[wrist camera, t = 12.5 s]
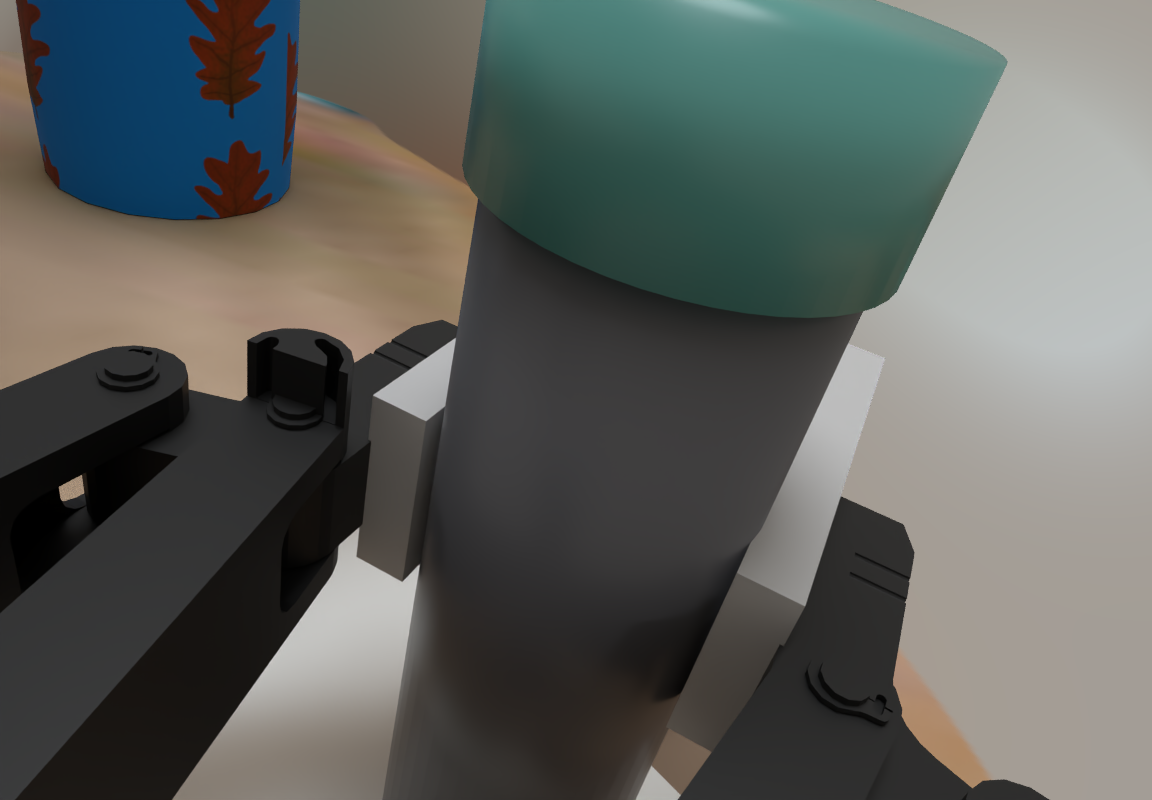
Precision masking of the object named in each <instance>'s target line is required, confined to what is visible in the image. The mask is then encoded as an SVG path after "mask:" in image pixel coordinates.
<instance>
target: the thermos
mask: <svg viewBox="0 0 1152 800" xmlns="http://www.w3.org/2000/svg"><path fill="white" fill-rule="evenodd" d="M16 4H17V12H18V19H19V26H20V33H21V40H22V47H23V55H24V62H25V69H26V76H27V83H28V88H29V93H30V98H31V103H32V107H33V112H34V117H35V122H36V127H37V132H38V137H39V142H40V146H41V151H42V156H43V161H44V166H45V171H46V173H47V174H48V175H49V176H50V178H51V179H52V180H53V182H54V183H55V184H56V186H57V187H58V188H59V189H61V190H63V191H65V192H67V193H69V194H71V195H73V196H75V197H77V198H78V199H80V200H82V201H84V202H86V203H89V204H93V205H96V206H100V207H104V208H107V209H111V210H115V211H118V212H122V213H126V214H131V215H140V216H149V217H157V218H166V219H219V218H224V217H230V216H235V215H241V214H246V213H251V212H256V211H258V210H260V209H262V208H265V207H267V206H269V205H271V204H273V203H275V202H278V201H279V200H280V199H281V198H282V196H283V195H284V194H285V192H286V191H287V190H288V188H289V184H290V173H291V162H292V151H293V141H294V130H295V119H296V104H297V73H298V72H297V71H298V43H299V13H300V0H16Z"/></svg>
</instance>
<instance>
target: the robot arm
mask: <svg viewBox="0 0 1152 800" xmlns="http://www.w3.org/2000/svg"><path fill="white" fill-rule="evenodd" d="M457 329H458V327H457V326H455V325H453V324H451V323H448V322H446V321H444V320H439V321H435V322H430V323H426V324H422V325H417V326H413V327H411V328H410V329H408V330H407V331H405V332H403V333H402V334H400V335H399V336H397V337H395V338H394V339H392V341H391V343H389V342H387V343H386V344H384V345H383V346H381V347H379V348H378V349H376V350H375V352H374V354H372V353H370V354H368V355H367V356H365V357H363V358H362V359H360V360H359V361H357V362H355V363H354V360H353V356H352V352H351V350H350V349H349V348H348V347H347V346H346V345H345V344H344V343H343V342H342V341H340V340H338V339H336V338H334V337H332V336H330V335H327V334H325V333H322V332H317V331H312V330H308V329H278V330H272V331H267V332H263V333H261V334H259V335H257V336H255V337H253V338H251V339H249V340H247V396H246V397H245V398H244V399H243V400H242V401H237V400H232V399H227V398H223V397H219V396H214V395H210V394H206V393H202V392H197V391H193V390H189V389H188V374H187V370H186V366H185V364H184V363H183V362H182V361H181V360H180V359H178V358H177V357H176V356H175V355H174V354H171V353H168V352H166V351H163V350H160V349H157V348H151V347H143V346H122V347H112V348H108V349H104V350H101V351H97V352H93V353H91V354H88V355H86V356H83V357H81V358H78V359H76V360H73V361H71V362H68V363H66V364H63V365H61V366H59V367H56V368H54V369H51V370H49V371H46V372H44V373H41V374H39V375H36V376H34V377H31V378H29V379H26V380H24V381H21V382H19V383H16V384H14V385H12V386H9V387H7V388H4V389H2V390H0V800H172V799H173V798H174V796H175V795H176V793H177V792H178V791H179V789H180V788H181V786H182V785H183V784H184V782H185V781H186V779H187V778H188V777H189V775H190V774H191V772H192V771H193V770H194V768H195V767H196V765H197V764H198V763H199V761H200V760H201V758H202V757H203V756H204V754H205V753H206V751H207V750H208V749H209V747H210V746H211V744H212V743H213V741H214V740H215V739H216V737H217V736H218V734H219V733H220V732H221V730H222V729H223V727H224V726H225V725H226V723H227V722H228V720H229V719H230V718H231V716H232V715H233V713H234V712H235V711H236V709H237V708H238V706H239V705H240V704H241V702H242V701H243V699H244V698H245V697H246V695H247V694H248V692H249V691H250V690H251V688H252V687H253V685H254V684H255V682H256V681H257V680H258V678H259V677H260V675H261V674H262V673H263V671H264V670H265V668H266V667H267V666H268V664H269V663H270V661H271V660H272V659H273V657H274V656H275V654H276V653H277V652H278V650H279V649H280V647H281V646H282V645H283V643H284V642H285V640H286V639H287V638H288V636H289V635H290V633H291V632H292V631H293V629H294V628H295V626H296V625H297V624H298V622H299V621H300V619H301V618H302V616H303V615H304V614H305V612H306V611H307V609H308V608H309V607H310V605H311V604H312V602H313V601H314V600H315V598H316V597H317V595H318V594H319V593H320V591H321V590H322V588H323V587H324V586H325V584H326V583H327V581H328V580H329V579H330V577H331V576H332V574H333V571H334V569H335V566H336V564H337V559H338V547H339V545H340V544H341V543H342V542H343V541H344V540H345V539H347V538H348V537H349V536H350V535H351V534H352V533H353V532H354V531H356V530H357V529H358V528H359V536H358V546H357V555H356V557H358V558H359V559H361V560H363V561H365V562H367V563H369V564H370V565H372V566H374V567H376V568H378V569H379V570H381V571H383V572H385V573H387V574H389V575H390V576H392V577H394V578H396V579H398V580H399V581H401V582H403V581H404V580H405V579H406V578H407V577H408V576H409V575H410V574H411V573H412V572H413V571H414V569H415V568H416V567H417V566H418V565H419V564H420V560H421V554H422V548H423V542H424V535H425V529H426V523H427V517H428V510H429V504H430V498H431V492H432V485H433V479H434V473H435V466H436V460H437V454H438V448H439V441H440V435H441V429H442V423H443V416H444V410H445V404H446V398H447V391H448V385H449V379H450V373H451V366H452V360H453V354H454V347H455V341H456V335H457ZM884 360H885V358H883V357H881V356H878V355H876V354H873V353H871V352H868V351H866V350H863V349H861V348H858V347H856V346H853V345H851V344H848V345H847V347H846V349H845V351H844V353H843V355H842V358H841V360H840V362H839V364H838V366H837V368H836V370H835V373H834V375H833V377H832V379H831V381H830V383H829V386H828V388H827V390H826V392H825V394H824V396H823V398H822V401H821V403H820V405H819V407H818V409H817V411H816V413H815V416H814V418H813V420H812V422H811V424H810V426H809V428H808V431H807V433H806V435H805V437H804V439H803V441H802V443H801V446H800V448H799V450H798V452H797V454H796V456H795V459H794V461H793V463H792V465H791V467H790V469H789V471H788V474H787V476H786V478H785V480H784V482H783V484H782V486H781V489H780V491H779V493H778V495H777V497H776V499H775V501H774V504H773V506H772V508H771V510H770V512H769V514H768V516H767V519H766V521H765V523H764V525H763V527H762V529H761V530H760V532H759V533H758V534H757V535H756V537H755V538H754V539H753V540H752V541H751V543H750V545H749V547H748V549H747V552H746V554H745V556H744V558H743V560H742V562H741V565H740V567H739V569H738V571H737V573H736V575H735V578H734V580H733V582H732V584H731V586H730V588H729V591H728V593H727V595H726V597H725V599H724V601H723V604H722V606H721V608H720V610H719V612H718V614H717V617H716V619H715V621H714V623H713V625H712V627H711V630H710V632H709V634H708V636H707V638H706V640H705V643H704V645H703V647H702V649H701V651H700V653H699V656H698V658H697V660H696V662H695V664H694V666H693V669H692V671H691V673H690V675H689V677H688V679H687V682H686V684H685V686H684V688H683V690H682V692H681V695H680V697H679V699H678V701H677V704H676V706H675V708H674V710H673V712H672V715H671V717H670V719H669V721H668V723H667V726H666V727H667V728H669V729H671V730H673V731H674V732H676V733H678V734H680V735H682V736H684V737H685V738H687V739H689V740H691V741H693V742H694V743H696V744H698V745H700V746H702V747H704V748H705V749H707V750H709V751H711V754H710V755H709V757H708V758H707V759H706V761H705V762H704V764H703V765H702V766H701V768H700V769H699V771H698V772H697V773H696V775H695V776H694V778H693V779H692V780H691V782H690V783H689V785H688V786H687V787H686V789H685V790H684V791H683V793H682V794H681V796H680V797H679V798H678V800H1049V799H1047V798H1046V797H1044V796H1043V795H1041V794H1039V793H1038V792H1036V791H1035V790H1033V789H1032V788H1030V787H1026V786H1023V785H1020V784H1017V783H1014V782H1011V781H1008V780H989V781H982V782H981V783H979V784H978V785H977V786H975V787H974V788H973V789H972V788H971V787H970V786H969V785H968V784H966V783H965V782H964V781H963V780H961V779H960V778H959V777H958V776H957V775H955V774H954V773H953V772H952V771H951V770H949V769H948V768H947V767H946V766H944V765H943V764H942V763H941V762H940V761H938V760H937V759H936V758H935V757H934V756H933V755H932V754H931V753H930V752H929V751H928V750H927V749H926V748H924V747H923V746H922V745H921V744H920V743H919V741H918V740H917V739H916V737H915V736H914V735H913V734H912V732H911V731H910V730H909V728H908V727H907V726H906V724H905V722H904V720H903V718H902V716H901V715H902V707H901V704H900V701H899V698H898V695H897V691H896V689H895V687H894V686H893V677H894V671H895V665H896V659H897V653H898V647H899V641H900V635H901V629H902V623H903V617H904V612H905V606H906V603H905V601H906V599H907V594H908V587H909V579H910V576H911V571H912V565H913V559H914V550H913V548H912V545H911V543H910V540H909V537H908V535H907V532H906V530H905V527H904V525H903V524H901V523H899V522H896V521H895V520H892V519H890V518H888V517H886V516H883V515H881V514H879V513H877V512H874V511H872V510H870V509H868V508H866V507H863V506H861V505H859V504H857V503H854V502H852V501H850V500H848V499H846V498H843V497H841V494H842V491H843V488H844V484H845V481H846V478H847V475H848V472H849V469H850V466H851V462H852V459H853V456H854V453H855V450H856V447H857V444H858V441H859V438H860V434H861V432H862V429H863V426H864V422H865V419H866V416H867V413H868V410H869V407H870V404H871V401H872V398H873V395H874V391H875V388H876V385H877V382H878V379H879V376H880V373H881V370H882V367H883V364H884ZM80 475H82V478H83V486H84V494H82V495H80V496H78V497H77V498H73V499H70V500H67V501H62V500H61V499H60V493H59V486H61V485H63V484H65V483H67V482H69V481H71V480H72V479H74V478H76V477H78V476H80Z"/></svg>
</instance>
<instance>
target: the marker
mask: <svg viewBox="0 0 1152 800" xmlns="http://www.w3.org/2000/svg"><path fill="white" fill-rule="evenodd" d="M1006 65H1007V60H1006V58H1005V57H1004V56H1003V55H1001V54H1000V53H999V52H997V51H996V50H994V49H993V48H991V47H989V46H987V45H986V44H984V43H982V42H980V41H978V40H976V39H974V38H972V37H970V36H967V35H965V34H963V33H960V32H958V31H956V30H954V29H951V28H949V27H946V26H944V25H942V24H939V23H936V22H934V21H932V20H929V19H926V18H924V17H921V16H918V15H916V14H913V13H910V12H907V11H905V10H901V9H899V8H896V7H893V6H890V5H888V4H885V3H882V2H879V1H876V0H486V5H485V12H484V19H483V26H482V33H481V40H480V47H479V53H478V60H477V67H476V74H475V81H474V88H473V95H472V103H471V109H470V115H469V122H468V130H467V137H466V143H465V150H464V157H463V164H462V167H463V171H464V177H465V179H466V181H467V183H468V185H469V187H470V188H471V190H472V191H473V193H474V194H475V195H476V196H477V198H478V203H477V210H476V216H475V222H474V228H473V235H472V241H471V247H470V253H469V260H468V266H467V272H466V279H465V285H464V291H463V297H462V304H461V310H460V316H459V322H458V329H457V335H456V341H455V347H454V354H453V360H452V366H451V373H450V379H449V385H448V391H447V398H446V404H445V410H444V416H443V423H442V429H441V435H440V441H439V448H438V454H437V460H436V466H435V473H434V479H433V485H432V492H431V498H430V504H429V510H428V517H427V523H426V529H425V535H424V542H423V548H422V554H421V560H420V567H419V573H418V579H417V585H416V592H415V598H414V604H413V611H412V617H411V623H410V629H409V636H408V642H407V648H406V654H405V661H404V667H403V673H402V679H401V686H400V692H399V698H398V705H397V711H396V717H395V723H394V730H393V736H392V742H391V748H390V755H389V761H388V767H387V773H386V780H385V786H384V792H383V798H382V800H636V798H637V796H638V793H639V791H640V789H641V787H642V785H643V783H644V781H645V778H646V776H647V774H648V772H649V770H650V768H651V766H652V763H653V761H654V759H655V757H656V755H657V753H658V751H659V748H660V746H661V744H662V742H663V740H664V738H665V735H666V733H667V731H668V729H669V728H667V727H666V726H667V723H668V721H669V719H670V717H671V715H672V712H673V710H674V708H675V706H676V704H677V701H678V699H679V697H680V695H681V692H682V690H683V688H684V686H685V684H686V682H687V679H688V677H689V675H690V673H691V671H692V669H693V666H694V664H695V662H696V660H697V658H698V656H699V653H700V651H701V649H702V647H703V645H704V643H705V640H706V638H707V636H708V634H709V632H710V630H711V627H712V625H713V623H714V621H715V619H716V617H717V614H718V612H719V610H720V608H721V606H722V604H723V601H724V599H725V597H726V595H727V593H728V591H729V588H730V586H731V584H732V582H733V580H734V578H735V575H736V573H737V571H738V569H739V567H740V565H741V562H742V560H743V558H744V556H745V554H746V552H747V549H748V547H749V545H750V543H751V541H752V540H753V539H754V538H755V537H756V535H757V534H758V533H759V532H760V530H761V529H762V527H763V525H764V523H765V521H766V519H767V516H768V514H769V512H770V510H771V508H772V506H773V504H774V501H775V499H776V497H777V495H778V493H779V491H780V489H781V486H782V484H783V482H784V480H785V478H786V476H787V474H788V471H789V469H790V467H791V465H792V463H793V461H794V459H795V456H796V454H797V452H798V450H799V448H800V446H801V443H802V441H803V439H804V437H805V435H806V433H807V431H808V428H809V426H810V424H811V422H812V420H813V418H814V416H815V413H816V411H817V409H818V407H819V405H820V403H821V401H822V398H823V396H824V394H825V392H826V390H827V388H828V386H829V383H830V381H831V379H832V377H833V375H834V373H835V370H836V368H837V366H838V364H839V362H840V360H841V358H842V355H843V353H844V351H845V349H846V347H847V345H848V342H849V340H850V338H851V336H852V334H853V332H854V330H855V327H856V325H857V323H858V321H859V319H860V317H861V315H862V312H863V311H865V310H869V309H872V308H875V307H877V306H879V305H880V304H882V303H884V302H886V301H888V300H889V299H890V298H891V297H892V296H893V295H894V294H895V293H896V292H897V290H898V288H899V286H900V284H901V282H902V280H903V278H904V276H905V274H906V272H907V270H908V268H909V266H910V264H911V261H912V259H913V257H914V255H915V253H916V251H917V249H918V247H919V245H920V243H921V241H922V238H923V237H924V234H925V233H926V230H927V228H928V226H929V224H930V222H931V220H932V218H933V216H934V214H935V212H936V210H937V208H938V206H939V204H940V202H941V200H942V197H943V195H944V193H945V191H946V189H947V187H948V185H949V183H950V181H951V178H952V177H953V175H954V173H955V170H956V169H957V166H958V164H959V162H960V160H961V158H962V156H963V154H964V152H965V150H966V148H967V146H968V144H969V142H970V140H971V138H972V136H973V133H974V131H975V129H976V127H977V125H978V123H979V121H980V119H981V117H982V115H983V113H984V111H985V109H986V107H987V105H988V103H989V100H990V98H991V96H992V94H993V92H994V90H995V88H996V86H997V84H998V82H999V80H1000V77H1001V76H1002V74H1003V71H1004V69H1005V67H1006Z"/></svg>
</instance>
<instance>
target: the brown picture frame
mask: <svg viewBox="0 0 1152 800" xmlns="http://www.w3.org/2000/svg"><path fill="white" fill-rule="evenodd" d="M358 536H359V528H358V529H357V530H356V531H354V532H353V533H352V534H351V535H350V536H349V537H348V538H347V539H345V540H344V541H343V542H342V543H341V544H340V545H339V547H338V559H337V564H336V566H335V569H334V571H333V574H332V576H331V577H330V579H329V580H328V581H327V583H326V584H325V586H324V587H323V588H322V590H321V591H320V593H319V594H318V595H317V597H316V598H315V600H314V601H313V602H312V604H311V605H310V607H309V608H308V609H307V611H306V612H305V614H304V615H303V616H302V618H301V619H300V621H299V622H298V624H297V625H296V626H295V628H294V629H293V631H292V632H291V633H290V635H289V636H288V638H287V639H286V640H285V642H284V643H283V645H282V646H281V647H280V649H279V650H278V652H277V653H276V654H275V656H274V657H273V659H272V660H271V661H270V663H269V664H268V666H267V667H266V668H265V670H264V671H263V673H262V674H261V675H260V677H259V678H258V680H257V681H256V682H255V684H254V685H253V687H252V688H251V690H250V691H249V692H248V694H247V695H246V697H245V698H244V699H243V701H242V702H241V704H240V705H239V706H238V708H237V709H236V711H235V712H234V713H233V715H232V716H231V718H230V719H229V720H228V722H227V723H226V725H225V726H224V727H223V729H222V730H221V732H220V733H219V734H218V736H217V737H216V739H215V740H214V741H213V743H212V744H211V746H210V747H209V749H208V750H207V751H206V753H205V754H204V756H203V757H202V758H201V760H200V761H199V763H198V764H197V765H196V767H195V768H194V770H193V771H192V772H191V774H190V775H189V777H188V778H187V779H186V781H185V782H184V784H183V785H182V786H181V788H180V789H179V791H178V792H177V793H176V795H175V796H174V798H173V799H172V800H382V798H383V792H384V786H385V780H386V773H387V767H388V761H389V755H390V748H391V742H392V736H393V730H394V723H395V717H396V711H397V705H398V698H399V692H400V686H401V679H402V673H403V667H404V661H405V654H406V648H407V642H408V636H409V629H410V623H411V617H412V611H413V604H414V598H415V592H416V585H417V579H418V573H419V567H420V564H419V565H418V566H417V567H416V568H415V569H414V571H413V572H412V573H411V574H410V575H409V576H408V577H407V578H406V579H405V580H404V581H403V582H401V581H399V580H398V579H396V578H394V577H392V576H390V575H389V574H387V573H385V572H383V571H381V570H379V569H378V568H376V567H374V566H372V565H370V564H369V563H367V562H365V561H363V560H361V559H359V558H358V557H356V555H357V546H358ZM710 754H711V751H709V750H707V749H705V748H704V747H702V746H700V745H698V744H696V743H694V742H693V741H691V740H689V739H687V738H685V737H684V736H682V735H680V734H678V733H676V732H674V731H673V730H671V729H668V731H667V733H666V735H665V738H664V740H663V742H662V744H661V746H660V748H659V751H658V753H657V755H656V757H655V759H654V761H653V763H652V766H651V768H650V770H649V772H648V774H647V776H646V778H645V781H644V783H643V785H642V787H641V789H640V791H639V793H638V796H637V798H636V800H678V798H679V797H680V796H681V794H682V793H683V791H684V790H685V789H686V787H687V786H688V785H689V783H690V782H691V780H692V779H693V778H694V776H695V775H696V773H697V772H698V771H699V769H700V768H701V766H702V765H703V764H704V762H705V761H706V759H707V758H708V757H709V755H710Z"/></svg>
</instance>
